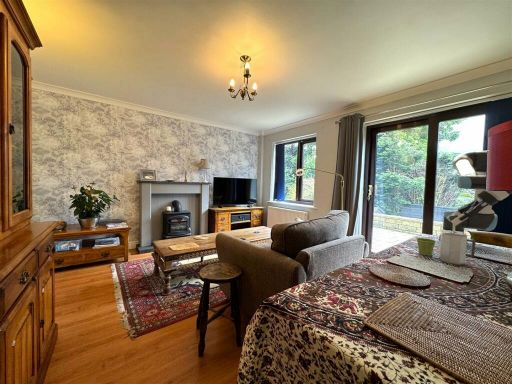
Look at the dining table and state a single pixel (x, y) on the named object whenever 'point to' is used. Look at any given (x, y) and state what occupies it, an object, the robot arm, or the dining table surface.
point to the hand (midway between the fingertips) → (450, 221)
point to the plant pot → (425, 246)
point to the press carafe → (455, 247)
